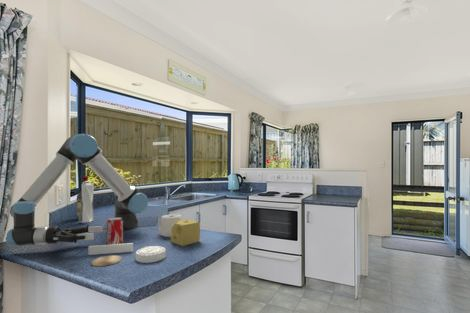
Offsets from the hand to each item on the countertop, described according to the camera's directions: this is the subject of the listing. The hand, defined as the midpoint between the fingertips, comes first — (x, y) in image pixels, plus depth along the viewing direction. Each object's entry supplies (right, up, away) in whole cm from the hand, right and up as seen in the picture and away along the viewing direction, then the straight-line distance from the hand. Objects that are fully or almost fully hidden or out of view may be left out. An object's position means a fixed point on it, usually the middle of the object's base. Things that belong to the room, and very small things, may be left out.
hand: (98, 232), depth 127 cm
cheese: (+40, -7, +6) cm, 41 cm away
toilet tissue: (+29, -7, +21) cm, 36 cm away
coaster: (+13, -6, -19) cm, 24 cm away
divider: (+10, -7, -9) cm, 15 cm away
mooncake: (+29, -7, -15) cm, 34 cm away
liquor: (-44, -9, +67) cm, 81 cm away
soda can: (+7, -7, +2) cm, 10 cm away
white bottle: (-35, -9, +55) cm, 66 cm away
